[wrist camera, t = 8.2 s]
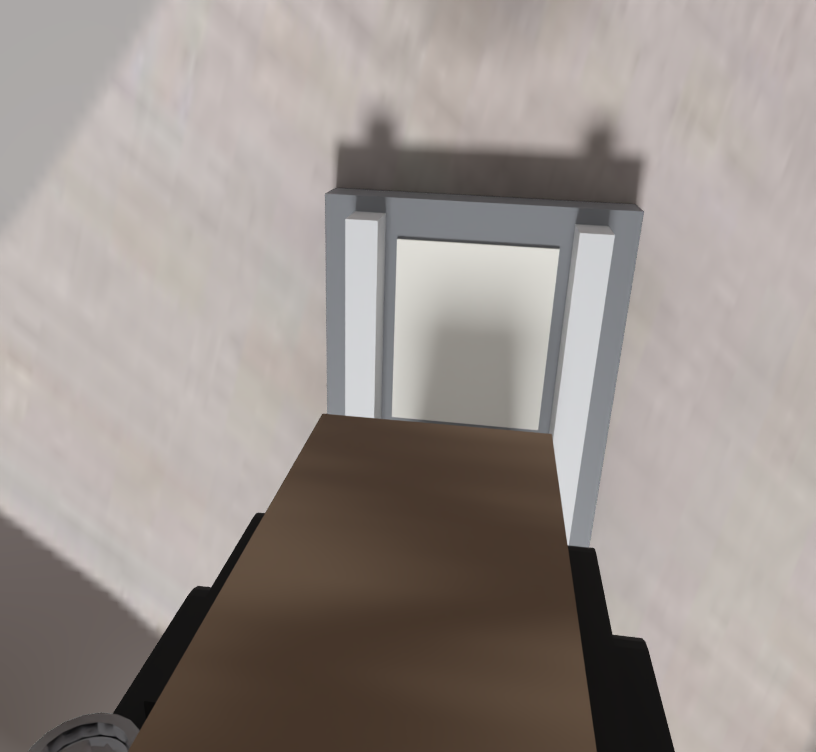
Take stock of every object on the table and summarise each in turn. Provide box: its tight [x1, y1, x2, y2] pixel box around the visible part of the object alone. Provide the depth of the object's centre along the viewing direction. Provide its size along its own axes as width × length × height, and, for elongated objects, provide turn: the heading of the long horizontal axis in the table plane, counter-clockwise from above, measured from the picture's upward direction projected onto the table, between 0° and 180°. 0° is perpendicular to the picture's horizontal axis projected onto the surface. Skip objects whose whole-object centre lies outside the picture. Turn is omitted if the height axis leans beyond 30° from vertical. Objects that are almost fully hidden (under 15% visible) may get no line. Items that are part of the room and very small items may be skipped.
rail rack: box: [325, 188, 644, 547], centre depth 22 cm, size 18×10×10 cm, turn 178°
